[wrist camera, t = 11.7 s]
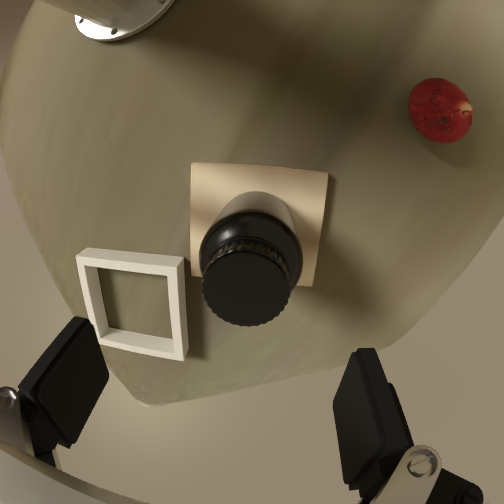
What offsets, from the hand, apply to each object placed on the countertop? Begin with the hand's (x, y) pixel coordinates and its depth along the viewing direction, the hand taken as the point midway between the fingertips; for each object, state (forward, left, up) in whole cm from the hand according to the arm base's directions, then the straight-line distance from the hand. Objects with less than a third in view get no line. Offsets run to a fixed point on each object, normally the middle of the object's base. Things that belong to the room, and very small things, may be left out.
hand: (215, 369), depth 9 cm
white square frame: (+10, -13, -19) cm, 25 cm away
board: (0, 0, -19) cm, 19 cm away
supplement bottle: (0, 0, -18) cm, 18 cm away
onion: (-12, +15, -19) cm, 28 cm away
